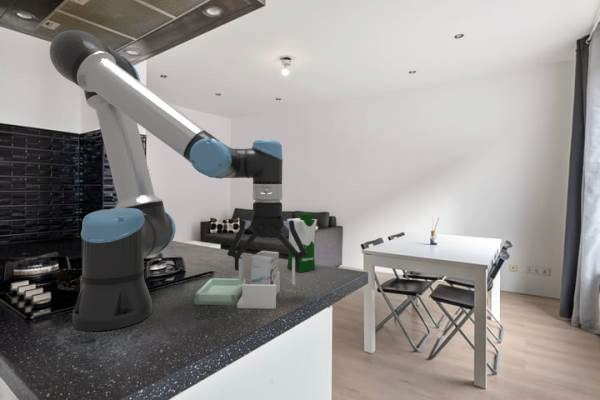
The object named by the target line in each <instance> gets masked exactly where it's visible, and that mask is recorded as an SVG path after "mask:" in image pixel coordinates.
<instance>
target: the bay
mask: <svg viewBox="0 0 600 400" xmlns="http://www.w3.org/2000/svg"><path fill="white" fill-rule="evenodd" d="M280 273H281V272H280V271H279V270H278V286H277V293H280V282H281V281H280V279H281V277H280V276H281V275H280ZM236 305H237V307H236V308H237V309H261V310H262V309H266V310H268V309H269V310H270V309H272V310H275V309H277V294H276V285H273V284H251V278H250V283H245V284H243V285H242V294H241V296H240V298H239V300H238V302H237V303H236Z"/></svg>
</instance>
